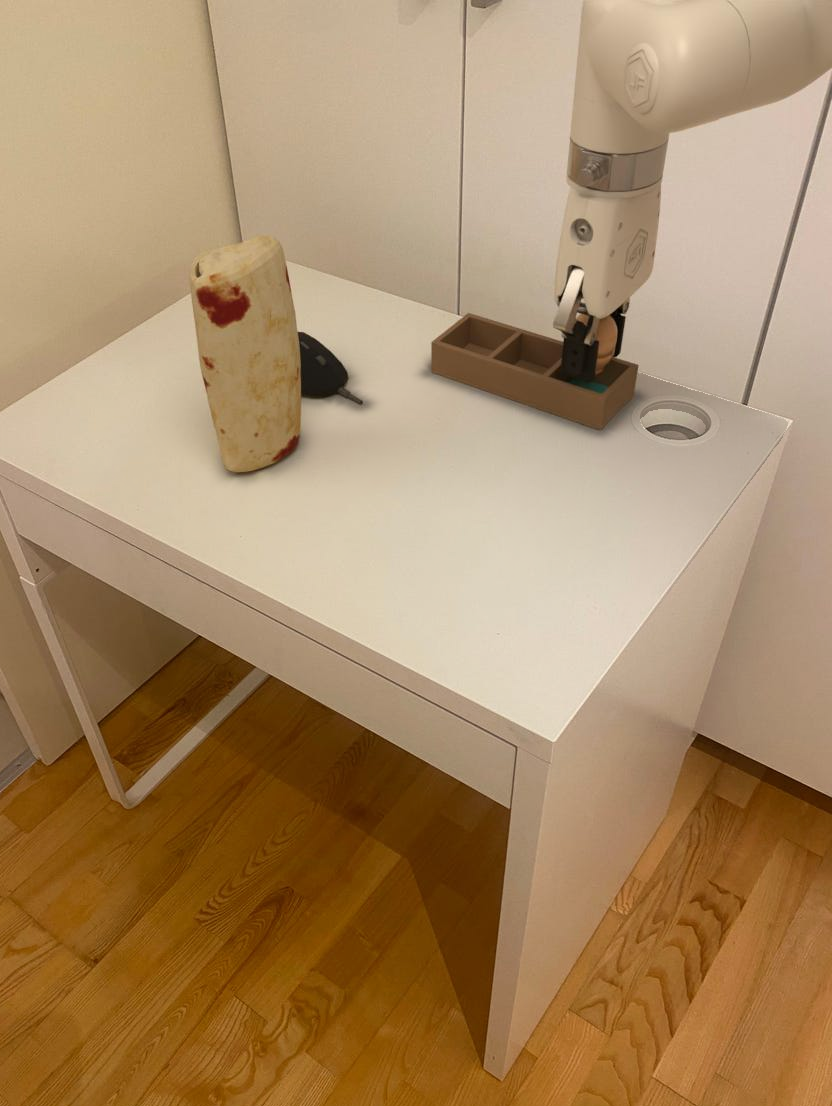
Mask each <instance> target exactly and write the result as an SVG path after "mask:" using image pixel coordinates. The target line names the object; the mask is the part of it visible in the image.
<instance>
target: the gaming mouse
mask: <svg viewBox="0 0 832 1106" xmlns="http://www.w3.org/2000/svg"><path fill="white" fill-rule="evenodd" d="M298 339H299V347H300V360H301V396H304V397H307V398H322V397H325V396H329V395H332V394H335V393H337V392H338V393H339V394H341V395H342V396H343V397H345V398H349V399H350V400H353V401H354V402H356V403H357V404H359V405H362V404H363V403H364V402H363V400H362V399H360V398H359V397H358V396H355V395H354V394H352V393H351V391H350V390H348V389H346V388H344V387H345V385H346V384H347V382H348V380H349V373H348V371H347V369H346V368H345V366H344V365H343V363H342V362H341V360H339V358H338V357H337V356H336V354H334V353H333V352H332V351H331V350H330V349H329V348H327V347H326V346H325V345H324V344H323V343H321V342H320V340H318V339H317V338H315V337H313V336H311V335H310V334H308V333H306V332H304V331H298Z"/></svg>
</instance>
